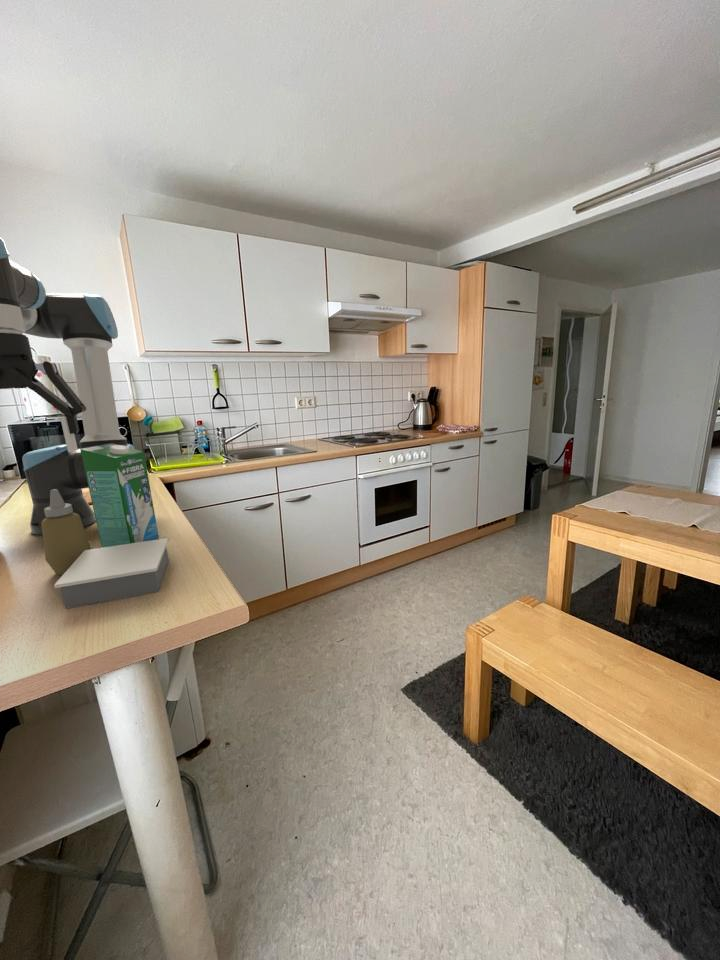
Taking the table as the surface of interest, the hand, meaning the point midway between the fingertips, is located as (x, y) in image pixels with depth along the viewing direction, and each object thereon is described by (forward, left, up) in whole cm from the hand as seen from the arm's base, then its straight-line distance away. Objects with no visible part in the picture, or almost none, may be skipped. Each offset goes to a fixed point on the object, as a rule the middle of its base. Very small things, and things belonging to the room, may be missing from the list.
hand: (30, 454), depth 72 cm
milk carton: (-19, +9, -27) cm, 34 cm away
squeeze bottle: (-7, 0, -27) cm, 27 cm away
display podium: (+4, +12, -26) cm, 29 cm away
